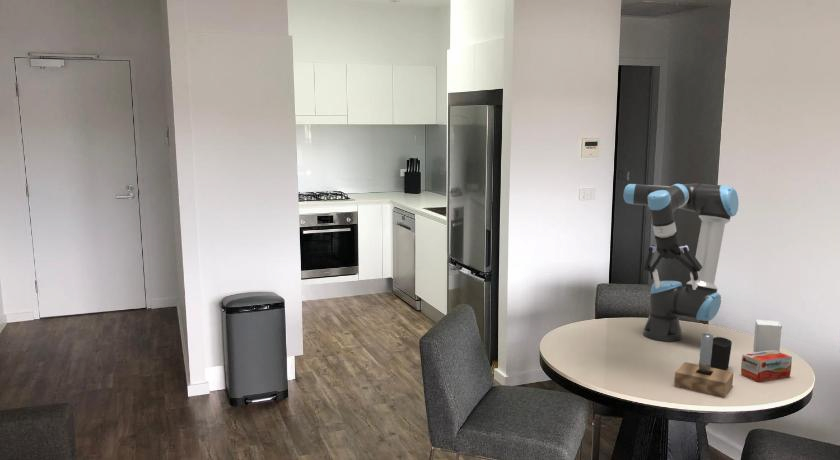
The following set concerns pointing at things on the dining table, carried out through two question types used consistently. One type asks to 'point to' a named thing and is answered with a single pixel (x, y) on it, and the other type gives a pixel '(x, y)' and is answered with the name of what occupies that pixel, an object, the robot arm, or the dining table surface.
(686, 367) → the socket block
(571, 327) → the dining table surface
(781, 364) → the medicine box
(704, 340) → the pin
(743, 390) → the dining table surface
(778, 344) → the skincare box
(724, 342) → the pen holder
